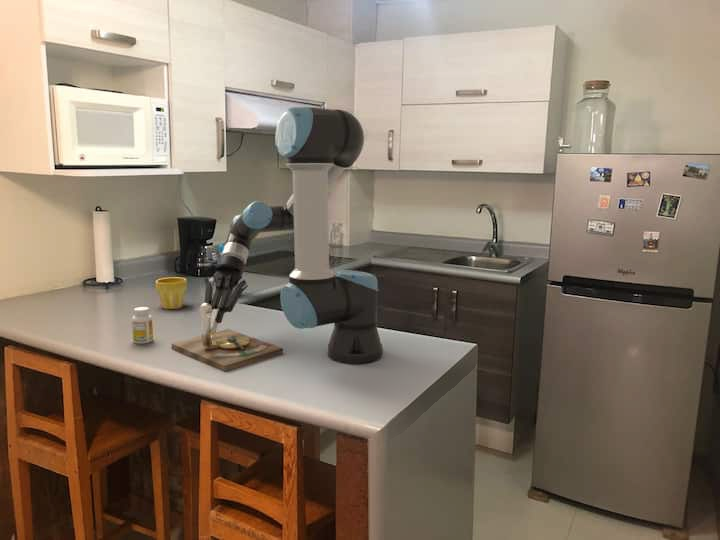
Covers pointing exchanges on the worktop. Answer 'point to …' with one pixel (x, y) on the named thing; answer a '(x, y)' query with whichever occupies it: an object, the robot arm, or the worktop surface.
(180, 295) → the plant pot
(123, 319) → the worktop surface
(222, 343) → the dial
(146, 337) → the supplement bottle
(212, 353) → the gauge board
